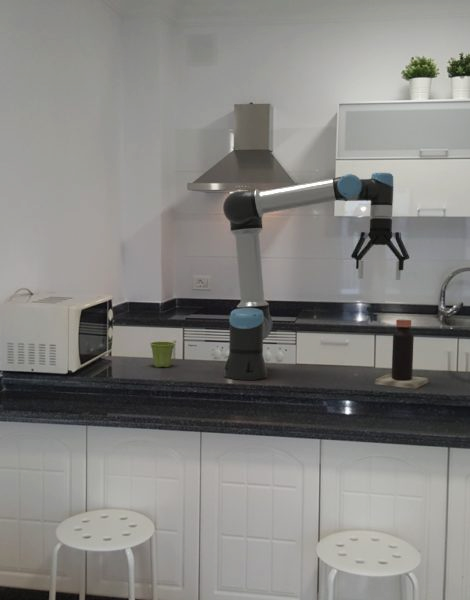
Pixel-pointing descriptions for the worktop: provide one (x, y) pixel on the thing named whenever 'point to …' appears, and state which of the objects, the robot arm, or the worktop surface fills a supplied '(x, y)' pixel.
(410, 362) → the vinegar
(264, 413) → the worktop surface
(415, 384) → the birch board
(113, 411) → the worktop surface
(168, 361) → the plant pot
